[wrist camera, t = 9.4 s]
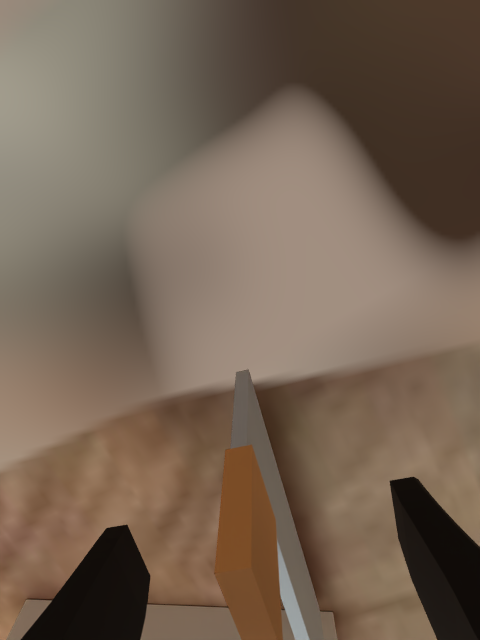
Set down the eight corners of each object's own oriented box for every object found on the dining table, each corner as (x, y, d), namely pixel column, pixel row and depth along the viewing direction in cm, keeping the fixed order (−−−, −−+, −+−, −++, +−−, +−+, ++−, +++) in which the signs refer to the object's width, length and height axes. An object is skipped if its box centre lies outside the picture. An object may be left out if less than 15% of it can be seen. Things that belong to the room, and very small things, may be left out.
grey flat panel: (322, 607, 22) (361, 870, 14) (306, 610, 22) (336, 872, 14) (252, 368, 17) (251, 567, 9) (232, 373, 17) (214, 573, 9)
